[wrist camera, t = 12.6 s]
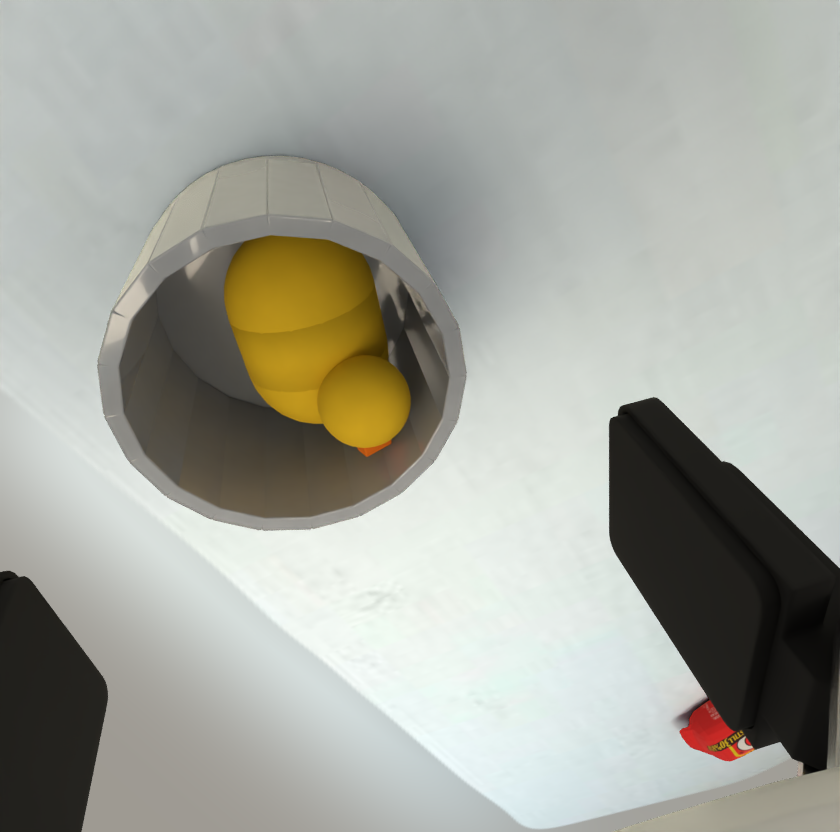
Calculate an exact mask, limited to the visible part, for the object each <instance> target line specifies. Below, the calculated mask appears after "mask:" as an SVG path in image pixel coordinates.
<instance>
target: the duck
mask: <svg viewBox="0 0 840 832" xmlns="http://www.w3.org/2000/svg"><path fill="white" fill-rule="evenodd" d="M224 302H225V308H226V311H227V315H228V320H229V323H230V325H231V328H232V331H233V333H234V336H235V339H236V342H237V344H238V347H239V350H240V352H241V355H242V358H243V360H244V363H245V366H246V369H247V371H248V374H249V376H250V379H251V381H252V383H253V385H254V387H255V389H256V390H257V391H258V393H259V394H260V395H261V397H262V398H263V399H264V400H265V401H266V403H267V404H268V405H270V406H271V407H272V408H274V409H275V410H276V411H278V412H279V413H281V414H282V415H284V416H286V417H289V418H291V419H294V420H296V421H299V422H305V423H313V424H324V426H325V427H326V429H327V430H328V431H329V432H330V434H331V435H332V436H334V437H335V438H336V439H338V440H339V441H341V442H342V443H345V444H347V445H350V446H353V447H357V449H358V450H359V451H360V452H361V453H362V454H363V455H365V456H366V457H368V456H370V455H372V454H374V453H375V452H377V451H379V450H381V449H383V448H384V447H386V446H388V445H390V444H391V443H392V441H391V439H392V438H393V437H395V436H396V435H397V434H398V433H399V432H400V431H401V429H402V428H403V426H404V425H405V423H406V421H407V419H408V416H409V412H410V407H411V396H410V391H409V387H408V384H407V382H406V380H405V378H404V376H403V375H402V373H401V372H400V371H399V370H398V369H397V368H396V367H395V366H394V365H392V364H391V363H390V362H388V357H389V351H388V343H387V336H386V331H385V327H384V322H383V318H382V314H381V309H380V305H379V300H378V296H377V291H376V287H375V282H374V279H373V276H372V273H371V270H370V267H369V265H368V263H367V261H366V259H365V258H364V256H363V254H362V253H360V252H357V251H355V250H352V249H350V248H347V247H345V246H342V245H340V244H337V243H335V242H332V241H330V240H325V239H312V238H299V237H286V236H273V235H270V236H265V237H261V238H257V239H253V240H248V241H244V243H243V244H242V245H241V246H240V248H239V249H238V250H237V252H236V253H235V255H234V256H233V258H232V261H231V263H230V265H229V268H228V270H227V273H226V278H225V284H224Z"/></svg>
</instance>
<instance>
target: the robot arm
mask: <svg viewBox="0 0 840 832" xmlns="http://www.w3.org/2000/svg"><path fill="white" fill-rule="evenodd" d="M609 535H610V541H611V544H612V547H613V549H614V552H615V553H616V555H617V557H618V558H619V560H620V562H621V563H622V565H623V566H624V568H625V569H626V571H627V572H628V574H629V576H630V577H631V579H632V580H633V582H634V583H635V585H636V586H637V588H638V589H639V591H640V593H641V594H642V596H643V597H644V599H645V600H646V602H647V603H648V605H649V607H650V608H651V610H652V611H653V613H654V614H655V616H656V617H657V619H658V620H659V622H660V624H661V625H662V627H663V628H664V630H665V631H666V633H667V634H668V636H669V637H670V639H671V641H672V642H673V644H674V645H675V647H676V648H677V650H678V651H679V653H680V655H681V656H682V658H683V659H684V661H685V662H686V664H687V665H688V667H689V668H690V670H691V672H692V673H693V675H694V676H695V678H696V679H697V681H698V682H699V684H700V686H701V687H702V689H703V690H704V692H705V693H706V695H707V696H708V698H709V699H710V701H711V703H712V704H713V706H714V707H715V709H716V710H717V712H718V713H719V715H720V716H721V718H722V720H723V721H724V722H725V724H726V725H727V726H728V727H729V728H730V729H731V730H733V731H739V730H742V731H743V733H744V735H745V736H746V738H747V739H748V741H749V742H750V744H751V745H752V747H753V748H754V750H756V749H759V748H762V747H765V746H768V745H772V744H775V743H778V742H781V743H782V745H783V746H784V748H785V749H786V750H787V752H788V753H789V755H790V756H791V758H792V759H794V760H797V761H798V772H797V777H794V778H790V779H786V780H782V781H777V782H773V783H770V784H767V785H764V786H760V787H756V788H753V789H750V790H746V791H743V792H740V793H736V794H733V795H730V796H726V797H723V798H720V799H716V800H713V801H710V802H706V803H703V804H700V805H696V806H693V807H689V808H686V809H683V810H679V811H677V812H673V813H670V814H666V815H663V816H660V817H657V818H653V819H650V820H647V821H644V822H641V823H638V824H635V825H631V826H629V827H625V828H622V829H619V830H616V831H613V832H840V568H839V567H838V566H837V565H836V564H835V563H833V562H832V561H831V560H830V559H829V558H828V557H827V556H826V555H825V554H824V553H823V552H822V551H821V550H820V549H819V548H818V547H817V546H816V545H815V544H814V543H813V542H812V541H811V540H810V539H809V538H808V537H807V536H806V535H805V534H804V533H803V532H802V531H801V530H800V529H799V528H798V527H797V526H796V525H795V524H794V523H793V522H792V521H791V520H790V519H789V518H788V517H787V516H786V515H785V514H784V513H783V512H782V511H781V510H780V509H779V508H778V507H777V506H776V505H775V504H774V503H773V502H772V501H770V500H769V499H768V498H767V497H766V496H765V495H764V494H763V493H762V492H761V491H760V490H759V489H758V488H757V487H756V486H755V485H754V484H753V483H752V482H751V481H750V480H749V479H748V478H747V477H746V476H745V475H744V474H743V473H742V472H741V471H740V470H739V469H738V468H736V467H735V466H734V465H732V464H731V463H728V462H724V461H723V462H721V461H720V460H719V458H718V457H717V456H716V455H715V454H714V453H713V452H712V451H711V450H710V449H709V448H708V447H707V446H706V445H705V444H704V443H703V442H702V441H701V440H700V439H699V438H698V437H697V436H696V435H695V434H694V433H693V432H692V431H691V430H690V429H689V428H688V427H687V426H686V425H685V424H684V423H683V422H682V421H681V420H680V419H679V418H678V417H677V416H676V415H675V414H674V413H673V412H672V411H671V410H670V409H669V408H668V407H667V406H666V405H665V404H664V403H663V402H662V401H661V400H659V399H658V398H654V397H653V398H649V399H645V400H641V401H638V402H634V403H630V404H626V405H623V406H621V407H620V408H619V411H618V416H616V417H613V418H611V419H610V423H609ZM107 701H108V691H107V685H106V682H105V680H104V678H103V676H102V675H101V674H100V672H99V671H98V670H97V668H96V667H95V666H94V664H93V663H92V661H91V660H90V659H89V657H88V656H87V655H86V653H85V652H84V651H83V650H82V648H81V647H80V645H79V644H78V643H77V641H76V640H75V639H74V637H73V636H72V635H71V633H70V632H69V631H68V629H67V628H66V627H65V625H64V624H63V623H62V621H61V620H60V619H59V617H58V616H57V615H56V613H55V612H54V610H53V609H52V608H51V607H50V605H49V604H48V603H47V601H46V600H45V598H44V597H43V596H42V595H41V593H40V592H39V591H38V589H37V588H36V586H35V585H34V584H33V582H32V581H31V580H30V579H29V578H27V577H25V576H23V577H18V576H17V575H16V574H15V573H13V572H11V571H3V572H0V832H81V830H82V826H83V821H84V815H85V811H86V806H87V801H88V796H89V791H90V786H91V781H92V776H93V771H94V766H95V761H96V756H97V751H98V746H99V741H100V736H101V731H102V726H103V722H104V717H105V712H106V706H107Z"/></svg>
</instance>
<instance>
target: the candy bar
mask: <svg viewBox="0 0 840 832" xmlns="http://www.w3.org/2000/svg"><path fill="white" fill-rule="evenodd" d="M679 732H680V734H681V736H682V738H683V739H684V740H685V742H686V743H687V744H688V745H689V746H690V747H691V748H693V749H696V750H700V751H702V752H705V753H708V754H710V755H713V756H715V757H717V758H719V759H721V760H724V761H733V760H735V759H737V758H740V757H742V756H744V755H746V754H748V753H750V752H752V751H754V748H753V747H752V745H751V744H750V742H749V741H748V739H747V738H746V736H745V735H744V733H743V731H742V730H739V731H733V730H731V729H730V728H729V727H728V726H727V725H726V724H725V722H724V721H723V720H722V718H721V716H720V715H719V713H718V712H717V710H716V709H715V707H714V706H713V704H712V703H711V701H710V700H709V701H707V702H706V703H704V704H703V705H701V706H700V707H699V708H697V709H696V710H695V711H693V713H692V715H691V717H690V719H689V726H688V727H686V728H682V729H681V730H680V731H679Z"/></svg>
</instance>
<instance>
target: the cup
mask: <svg viewBox="0 0 840 832" xmlns="http://www.w3.org/2000/svg"><path fill="white" fill-rule="evenodd" d="M270 235H273V236H286V237H299V238H312V239H325V240H330V241H332V242H335V243H337V244H340V245H342V246H345V247H347V248H350V249H352V250H355V251H357V252H360V253H362V254H363V256H364V258H365V259H366V261H367V263H368V265H369V267H370V270H371V273H372V276H373V279H374V282H375V287H376V291H377V296H378V300H379V305H380V309H381V314H382V318H383V322H384V327H385V331H386V336H387V343H388V351H389V357H388V362H390V363H391V364H392V365H394V366H395V367H396V368H397V369H398V370H399V371H400V372H401V373H402V375H403V376H404V378H405V380H406V382H407V384H408V387H409V391H410V396H411V407H410V412H409V416H408V419H407V421H406V423H405V425H404V426H403V428H402V429H401V431H400V432H399V433H398V434H397V435H396V436H395V437H393V438H392V439H391V441H392V443H391V444H390V445H388V446H386V447H384V448H383V449H381V450H379V451H377V452H375V453H374V454H372V455H370V456H368V457H366V456H365V455H363V454H362V453H361V452H360V451H359V450H358V449H357V447H353V446H350V445H347V444H345V443H342V442H341V441H339V440H338V439H336V438H335V437H334V436H332V435H331V434H330V432H329V431H328V430H327V429H326V427H325V426H324V424H313V423H305V422H299V421H296V420H294V419H291V418H289V417H286V416H284V415H282V414H281V413H279V412H278V411H276V410H275V409H274V408H272V407H271V406H270V405H268V404H267V403H266V401H265V400H264V399H263V398H262V397H261V395H260V394H259V393H258V391H257V390H256V389H255V387H254V385H253V383H252V381H251V379H250V376H249V374H248V371H247V369H246V366H245V363H244V360H243V358H242V355H241V352H240V350H239V347H238V344H237V342H236V339H235V336H234V333H233V331H232V328H231V325H230V323H229V320H228V315H227V311H226V308H225V302H224V284H225V278H226V273H227V270H228V268H229V265H230V263H231V261H232V258H233V256H234V255H235V253H236V252H237V250H238V249H239V248H240V246H241V245H242V244H243V243H244V241H248V240H253V239H257V238H261V237H265V236H270ZM97 368H98V376H99V383H100V391H101V399H102V407H103V414H104V415H105V419H106V421H107V423H108V425H109V426H110V428H111V430H112V432H113V434H114V436H115V438H116V439H117V441H118V443H119V445H120V447H121V449H122V451H123V452H124V454H125V456H126V458H127V460H128V461H129V462H130V464H132V465H133V466H134V467H135V468H136V469H137V470H138V471H139V472H140V473H141V474H142V475H143V476H144V477H145V478H147V479H148V480H149V481H150V482H151V483H152V484H153V485H154V486H155V487H156V488H157V489H158V490H159V491H160V492H161V493H163V494H164V495H165V496H167V498H169V499H171V500H173V501H175V502H177V503H179V504H181V505H183V506H185V507H187V508H189V509H191V510H193V511H195V512H197V513H199V514H201V515H203V516H205V517H207V518H209V519H213V520H215V521H220V522H224V523H229V524H233V525H238V526H243V527H247V528H252V529H257V530H264V531H265V530H304V529H311V528H312V529H315V528H319V527H322V526H326V525H330V524H334V523H338V522H341V521H345V520H349V519H353V518H356V517H359V516H362V515H363V514H365V513H367V512H369V511H371V510H372V509H374V508H376V507H378V506H380V505H381V504H383V503H385V502H387V501H389V500H391V499H392V498H394V497H396V496H398V495H400V494H401V493H402V492H404V491H405V490H406V489H407V488H408V487H409V486H410V485H411V484H412V483H413V482H414V481H415V480H416V479H417V478H418V477H419V476H420V475H421V474H422V473H423V472H424V471H425V470H426V469H427V468H428V467H430V466H431V465H432V464H433V463H434V460H436V459H437V457H438V455H439V453H440V452H441V450H442V448H443V446H444V445H445V443H446V441H447V439H448V438H449V436H450V434H451V432H452V430H453V429H454V427H455V425H456V423H457V420H458V418H459V413H460V408H461V402H462V397H463V392H464V387H465V382H466V377H467V376H466V373H467V372H466V365H465V359H464V353H463V346H462V340H461V333H460V328H459V326H458V323H457V321H456V319H455V318H454V316H453V314H452V312H451V310H450V309H449V307H448V305H447V303H446V301H445V300H444V298H443V296H442V294H441V293H440V291H439V289H438V287H437V285H436V284H435V282H434V280H433V278H432V277H431V275H430V273H429V272H428V270H427V268H426V267H425V265H424V263H423V261H422V260H421V258H420V256H419V255H418V253H417V251H416V250H415V248H414V246H413V245H412V243H411V241H410V240H409V238H408V236H407V234H406V233H405V231H404V229H403V228H402V226H401V224H400V223H399V221H398V219H397V218H396V216H395V215H394V213H393V212H392V211H391V210H390V209H389V208H388V207H387V206H386V204H385V203H384V202H383V201H382V200H381V199H380V198H379V197H378V196H377V195H376V194H375V193H374V192H373V191H371V190H370V189H369V188H367V187H366V186H365V185H363V184H362V183H361V182H359V181H358V180H357V179H355V178H353V177H351V176H350V175H348V174H346V173H344V172H343V171H341V170H338V169H336V168H333V167H331V166H329V165H326V164H324V163H320V162H316V161H313V160H309V159H305V158H298V157H290V156H261V157H254V158H248V159H242V160H239V161H236V162H232V163H229V164H226V165H223V166H221V167H219V168H217V169H215V170H213V171H210V172H208V173H206V174H205V175H203V176H202V177H200V178H199V179H197V180H196V181H194V182H193V183H191V184H190V185H189V186H188V187H187V188H185V189H184V190H183V191H182V192H181V193H180V194H179V195H178V196H177V197H176V198H175V199H174V200H173V201H172V203H171V204H170V205H169V206H168V207H167V209H166V210H165V211H164V213H163V215H162V216H161V218H160V220H159V221H158V222H157V224H156V225H155V226H154V228H153V229H152V231H151V233H150V235H149V237H148V239H147V241H146V243H145V245H144V247H143V249H142V251H141V253H140V255H139V257H138V259H137V261H136V263H135V265H134V267H133V269H132V271H131V273H130V275H129V277H128V279H127V281H126V283H125V285H124V287H123V289H122V291H121V293H120V295H119V297H118V299H117V301H116V303H115V305H114V307H113V309H112V311H111V313H110V317H109V320H108V324H107V328H106V332H105V335H104V339H103V343H102V346H101V350H100V354H99V357H98V365H97Z"/></svg>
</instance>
